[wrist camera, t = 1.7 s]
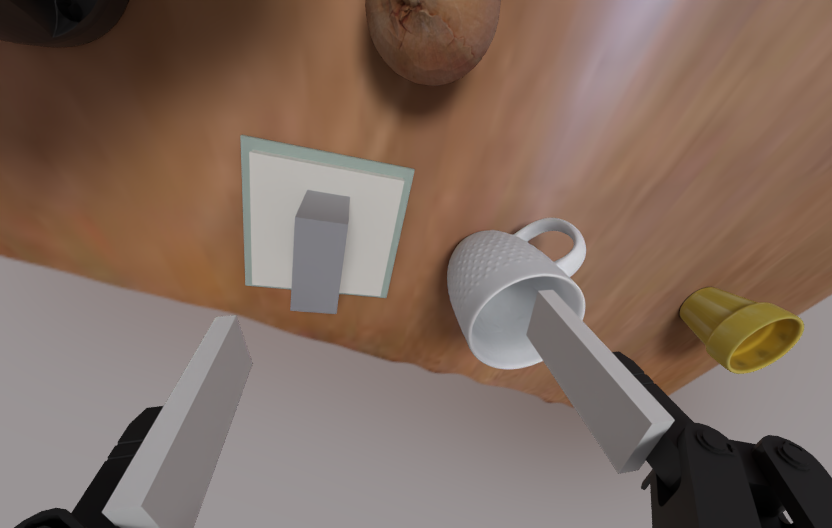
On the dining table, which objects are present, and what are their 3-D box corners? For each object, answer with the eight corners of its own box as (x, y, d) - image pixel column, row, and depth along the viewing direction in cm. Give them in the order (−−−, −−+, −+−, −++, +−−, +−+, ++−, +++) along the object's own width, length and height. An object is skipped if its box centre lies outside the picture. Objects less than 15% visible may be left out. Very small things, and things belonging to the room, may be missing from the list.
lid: (255, 278, 35) (229, 328, 28) (253, 149, 28) (219, 171, 21) (379, 290, 38) (384, 337, 31) (402, 177, 32) (416, 205, 25)
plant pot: (678, 283, 47) (748, 326, 39) (740, 270, 48) (821, 310, 40) (659, 333, 52) (716, 381, 44) (715, 321, 53) (782, 365, 45)
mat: (246, 282, 36) (245, 285, 35) (242, 134, 28) (240, 135, 28) (386, 295, 40) (386, 298, 39) (413, 168, 32) (414, 170, 32)
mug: (517, 170, 34) (596, 214, 23) (561, 234, 39) (643, 295, 28) (416, 258, 38) (441, 332, 26) (469, 306, 43) (509, 386, 32)
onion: (374, 29, 28) (310, -6, 20) (452, -84, 24) (411, -193, 15) (443, 113, 30) (410, 114, 21) (529, 22, 25) (532, -24, 16)
